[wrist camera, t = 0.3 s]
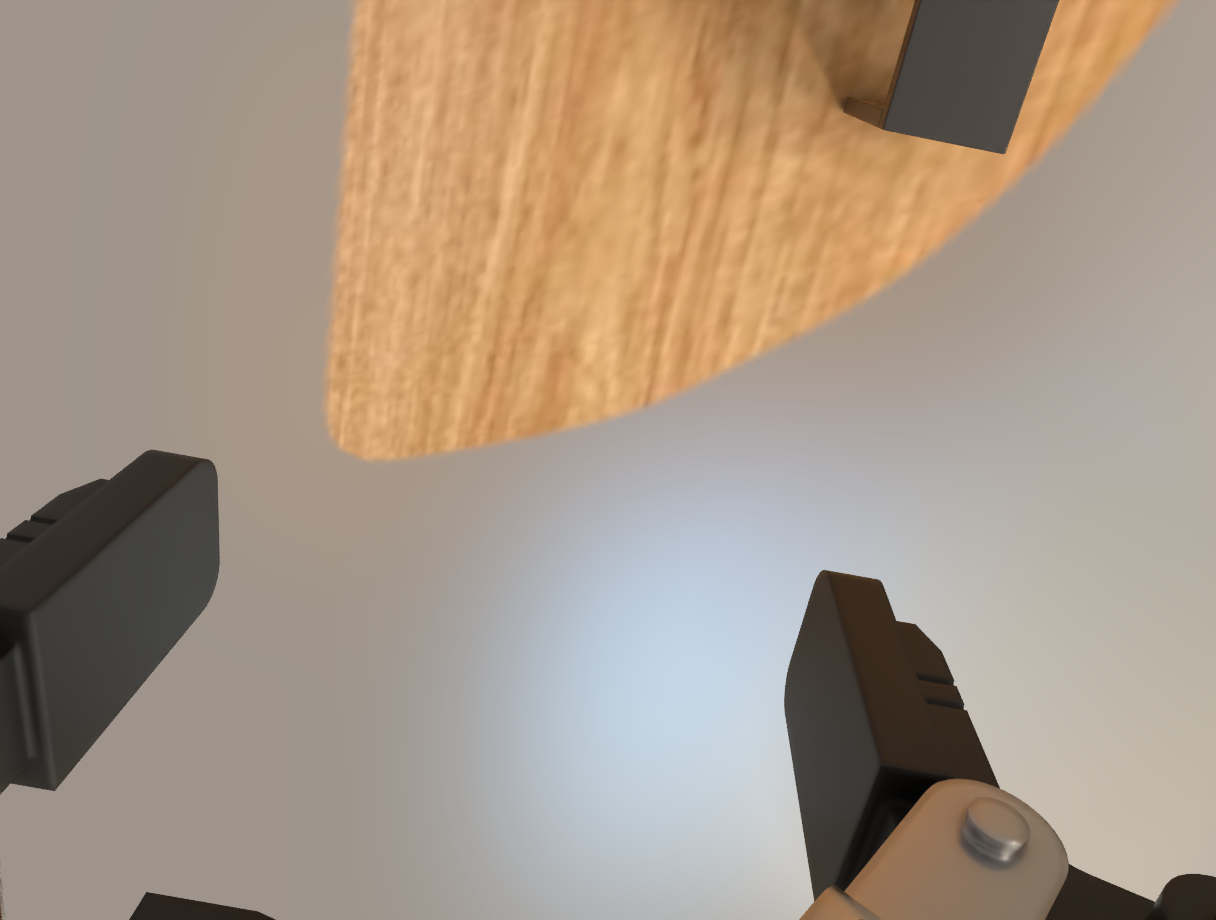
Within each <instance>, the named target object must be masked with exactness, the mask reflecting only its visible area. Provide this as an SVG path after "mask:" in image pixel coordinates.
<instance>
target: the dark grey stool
mask: <svg viewBox="0 0 1216 920" xmlns="http://www.w3.org/2000/svg"><path fill="white" fill-rule="evenodd" d="M1058 2H1059V0H915V3H914V6H913V9H912V13H911V16H910V20H909V23H908V27H907V30H906V33H905V37H904V40H903V44H902V47H901V51H900V54H899V57H898V61H897V64H896V68H895V71H894V75H893V78H892V81H891V85H890V88H889V92H888V95H887V99H886V102H885V104H881V103H876V102H871V101H866V100H862V99H857V98H852V97H848V98H847V100H846V104H845V108H844V113H846V114H848V115H851V116H853V117H855V118H858V119H860V120H862V121H864V122H867V123H869V124H871V125H874V126H876V127H878V128H880V129H883V130H886V131H891V132H896V133H901V134H906V135H911V136H916V137H921V138H926V139H931V140H936V141H941V142H946V143H951V144H956V145H960V146H965V147H970V148H975V149H980V150H985V151H990V152H995V153H1000V154H1005V153H1006V150H1007V147H1008V144H1009V141H1010V139H1011V136H1012V133H1013V130H1014V127H1015V124H1016V122H1017V119H1018V116H1019V113H1020V110H1021V107H1022V104H1023V102H1024V99H1025V96H1026V93H1027V90H1028V87H1029V85H1030V82H1031V79H1032V76H1033V73H1034V70H1035V67H1036V65H1037V62H1038V59H1039V56H1040V53H1041V50H1042V48H1043V45H1044V42H1045V39H1046V36H1047V33H1048V31H1049V28H1050V25H1051V22H1052V19H1053V16H1054V13H1055V11H1056V8H1057V5H1058Z"/></svg>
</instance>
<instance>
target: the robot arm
mask: <svg viewBox="0 0 1216 920" xmlns="http://www.w3.org/2000/svg"><path fill="white" fill-rule="evenodd" d="M219 558H220V557H219V518H218V480H217V472H216V469H215V466H214V464H213V463H212V462H211V461H210V460H208V459H203V458H197V457H191V456H186V455H179V454H174V453H169V452H163V451H157V450H149V451H146V452H145V453H143V454H142V455H141V456H139V457H138V458H137V459H136V460H134V461H133V462H132V463H130V464H129V465H128V466H127V467H125V468H124V469H123V470H122V471H120V472H119V473H118V474H116V475H115V476H114V477H113V478H111V479H110V480H105V479H99V480H96V481H93V482H91V483H88V484H86V485H83V486H81V487H78V488H75V489H73V490H70V491H68V492H65V493H62V494H60V495H58V496H57V497H56V498H54V499H53V500H52V501H50V502H49V503H48V504H46V505H45V506H44V507H42V508H41V509H40V510H38V511H37V512H36V513H34V514H33V515H32V516H31V519H30V521H28V520H25V521H24V522H22V523H21V524H20V525H18V526H17V527H15V528H14V529H13V530H12V531H10V532H9V533H8V534H7V538H6V539H3V538H1V539H0V794H1V793H2V792H3V791H4V790H5V789H6V788H7V787H8V785H9V784H10V783H12V784H17V785H23V786H29V787H34V788H41V789H46V790H52V791H55V790H56V789H57V788H58V786H59V785H60V784H61V783H62V781H63V780H64V779H65V778H66V777H67V775H68V774H69V773H70V772H71V770H72V769H73V768H74V767H75V766H76V764H77V763H78V762H79V761H80V759H81V758H82V757H83V756H84V755H85V753H86V752H87V751H88V750H89V749H90V747H91V746H92V745H93V744H94V742H95V741H96V740H97V739H98V738H99V736H100V735H101V734H102V733H103V732H104V730H105V729H106V728H107V727H108V726H109V724H110V723H111V722H112V721H113V719H114V718H115V717H116V716H117V714H118V713H119V712H120V711H121V710H122V708H123V707H124V706H125V705H126V704H127V702H128V701H129V700H130V699H131V698H132V696H133V695H134V694H135V693H136V692H137V690H138V689H139V688H140V687H141V685H142V684H143V683H144V682H145V681H146V679H147V678H148V677H149V676H150V674H151V673H152V672H153V671H154V670H155V668H156V667H157V666H158V665H159V664H160V662H161V661H162V660H163V659H164V657H165V656H166V655H167V654H168V653H169V651H170V650H171V649H172V647H174V645H175V644H176V643H177V642H178V640H179V639H180V638H181V637H182V636H183V634H184V633H185V632H186V631H187V630H188V628H189V627H190V626H191V625H192V623H193V622H194V621H195V620H196V618H197V617H198V616H199V615H200V614H201V612H202V611H203V610H204V609H205V607H206V606H207V604H208V602H209V600H210V598H211V596H212V594H213V591H214V588H215V586H216V582H217V578H218V572H219V561H220V560H219ZM953 683H954V679H953V677H952V675H951V672H950V670H949V667H948V665H947V663H946V661H945V658H944V656H943V654H942V652H941V650H940V649H939V648H938V647H937V646H936V645H935V644H934V643H933V642H932V641H931V640H930V639H929V638H928V637H927V636H926V635H925V634H924V633H923V632H922V631H921V630H920V629H919V628H918V627H917V625H916V624H911V623H905V622H899V621H896V619H895V616H894V614H893V611H892V608H891V605H890V603H889V600H888V597H887V595H886V592H885V589H884V586H883V584H882V582H881V581H879V580H878V579H872V578H866V577H861V576H855V575H849V574H844V573H838V572H833V571H827V570H823V571H821V572H820V573H819V575H818V577H817V579H816V581H815V584H814V586H813V590H812V593H811V596H810V599H809V602H808V606H807V609H806V612H805V615H804V619H803V622H802V625H801V628H800V631H799V635H798V638H797V641H796V645H795V648H794V651H793V654H792V657H791V661H790V664H789V668H788V672H787V678H786V685H785V697H784V698H785V699H784V707H785V716H786V723H787V729H788V736H789V742H790V748H791V755H792V761H793V768H794V774H795V780H796V787H797V793H798V799H799V805H800V812H801V818H802V824H803V832H804V838H805V844H806V851H807V857H808V863H809V869H810V876H811V883H812V889H813V895H814V903H813V904H812V905H811V906H810V908H809V909H808V910H807V911H806V912H805V914H804V915H803V916H802V917H801V918H800V920H1216V877H1213V876H1208V875H1201V874H1185V875H1181V876H1177V877H1175V878H1173V879H1171V880H1170V881H1169V882H1168V883H1167V884H1166V885H1165V887H1164V889H1163V891H1162V892H1161V894H1160V895H1159V897H1158V899H1157V900H1156V902H1154V901H1151V900H1149V899H1147V898H1144V897H1142V896H1139V895H1137V894H1135V893H1132V892H1130V891H1127V890H1125V889H1123V888H1121V887H1118V886H1116V885H1113V884H1111V883H1109V882H1106V881H1104V880H1101V879H1099V878H1097V877H1094V876H1092V875H1090V874H1088V873H1085V872H1083V871H1081V870H1079V869H1077V868H1075V867H1073V866H1072V865H1070V864H1069V862H1068V858H1067V853H1066V851H1065V848H1064V846H1063V844H1062V842H1061V840H1060V838H1059V837H1058V835H1057V834H1056V832H1055V831H1054V830H1053V829H1052V827H1051V826H1050V825H1049V824H1048V822H1047V821H1046V820H1044V818H1043V817H1041V816H1040V815H1039V814H1038V813H1037V812H1036V811H1035V810H1034V809H1032V808H1031V807H1030V806H1029V805H1027V804H1026V803H1024V802H1023V801H1021V800H1020V799H1018V798H1016V797H1015V796H1013V795H1011V794H1009V793H1007V792H1006V791H1004V790H1001V789H1000V787H999V785H998V783H997V780H996V778H995V776H994V773H993V771H992V769H991V766H990V764H989V761H988V759H987V757H986V755H985V752H984V750H983V748H982V745H981V743H980V741H979V738H978V736H977V733H976V731H975V729H974V726H973V724H972V721H971V719H970V717H969V714H968V712H967V711H966V710H964V703H963V700H962V698H961V696H960V693H959V691H958V689H957V687H956V686H954V685H953ZM0 920H5V913H4V900H3V888H2V877H1V865H0ZM129 920H275V919H273V918H271V917H269V916H266V915H264V914H262V913H260V912H257V911H251V910H246V909H240V908H234V907H229V906H223V905H217V904H212V903H206V902H200V901H195V900H189V899H183V898H177V897H171V896H165V895H160V894H154V893H148V892H146V894H145V895H144V897H143V898H142V900H141V902H140V904H139V905H138V907H137V908H136V910H135V912H134V913H133V915H132V916H131V918H130V919H129Z"/></svg>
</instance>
